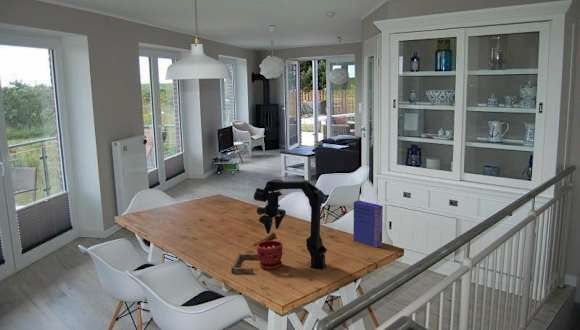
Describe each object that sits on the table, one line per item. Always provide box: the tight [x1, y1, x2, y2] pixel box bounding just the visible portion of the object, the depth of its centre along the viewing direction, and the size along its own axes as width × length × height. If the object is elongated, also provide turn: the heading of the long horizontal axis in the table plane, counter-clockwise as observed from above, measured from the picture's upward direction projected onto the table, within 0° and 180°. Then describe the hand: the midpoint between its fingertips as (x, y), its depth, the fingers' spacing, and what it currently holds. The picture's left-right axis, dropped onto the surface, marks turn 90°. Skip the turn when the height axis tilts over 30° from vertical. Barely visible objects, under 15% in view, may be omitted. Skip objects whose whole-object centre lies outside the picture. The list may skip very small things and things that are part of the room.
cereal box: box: [353, 200, 384, 249], centre depth 271 cm, size 17×5×24 cm, turn 41°
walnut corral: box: [231, 253, 259, 275], centre depth 243 cm, size 11×20×2 cm, turn 176°
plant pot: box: [256, 240, 283, 270], centre depth 241 cm, size 13×13×12 cm
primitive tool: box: [252, 232, 277, 247], centre depth 280 cm, size 19×6×4 cm, turn 151°
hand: (272, 231), depth 250 cm, fingers open, 9 cm apart
